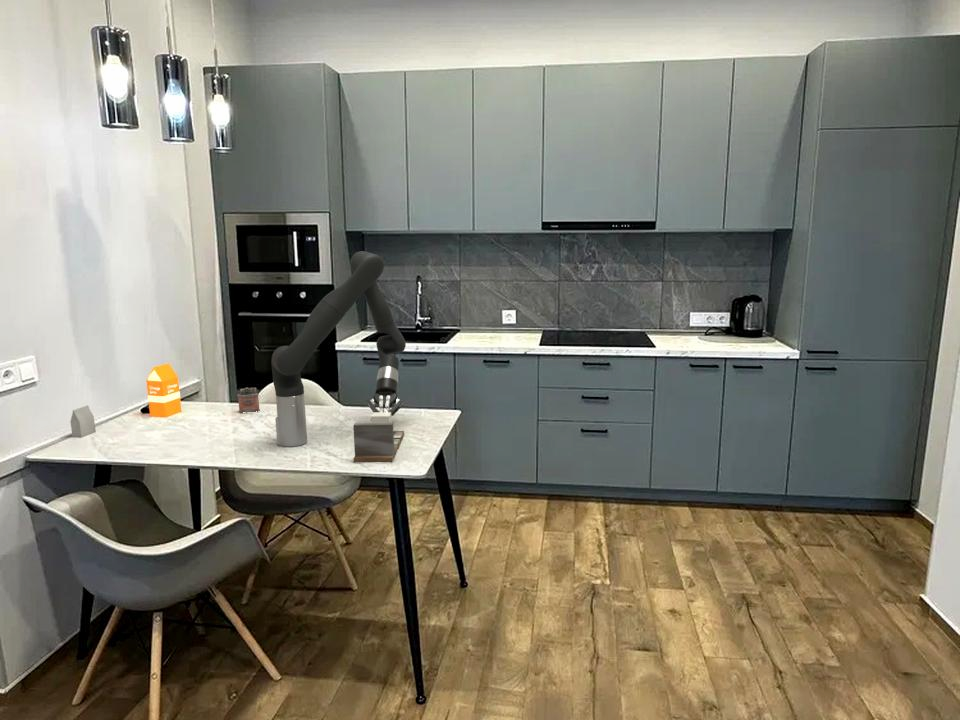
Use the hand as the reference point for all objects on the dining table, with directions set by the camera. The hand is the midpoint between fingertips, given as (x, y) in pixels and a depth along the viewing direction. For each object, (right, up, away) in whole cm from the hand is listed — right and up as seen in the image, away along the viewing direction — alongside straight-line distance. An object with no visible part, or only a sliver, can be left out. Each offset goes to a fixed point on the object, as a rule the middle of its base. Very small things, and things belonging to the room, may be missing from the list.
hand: (383, 425), depth 222 cm
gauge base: (0, -7, -5) cm, 9 cm away
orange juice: (-93, 0, +40) cm, 101 cm away
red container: (-60, +1, +41) cm, 73 cm away
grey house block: (-110, -5, +14) cm, 111 cm away
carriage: (+2, -5, -3) cm, 6 cm away
